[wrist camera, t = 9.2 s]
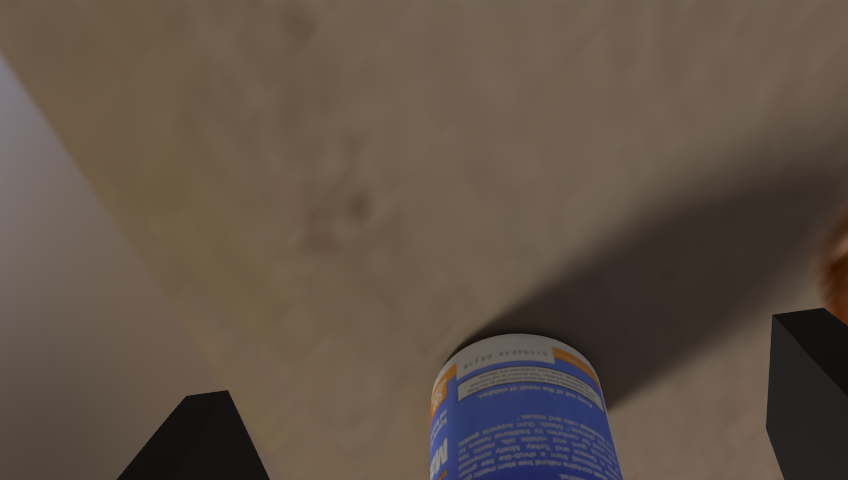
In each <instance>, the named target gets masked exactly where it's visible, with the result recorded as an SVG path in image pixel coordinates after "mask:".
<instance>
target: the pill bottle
mask: <svg viewBox="0 0 848 480" xmlns="http://www.w3.org/2000/svg"><path fill="white" fill-rule="evenodd" d="M430 435H431V449H430V480H624V476H623V473H622V469H621V465H620V462H619V458H618V454H617V450H616V446H615V442H614V438H613V434H612V430H611V426H610V422H609V417H608V413H607V409H606V405H605V401H604V397H603V393H602V390H601V386H600V382H599V379H598V376H597V374H596V372H595V370H594V369H593V367H592V366H591V364H590V363H589V362H588V360H587V359H586V358H585V357H584V356H583V355H582V354H580V353H579V352H578V351H577V350H575V349H574V348H572V347H570V346H568V345H566V344H564V343H562V342H560V341H558V340H555V339H551V338H548V337H544V336H539V335H531V334H505V335H499V336H494V337H490V338H486V339H483V340H481V341H478V342H476V343H473V344H471V345H469V346H467V347H466V348H464V349H462V350H461V351H459V352H458V353H457V354H455V355H454V356H453V357H452V358H451V359H450V360H449V361H448V362H447V363H446V364H445V366H444V367H443V368H442V370H441V372H440V373H439V375H438V377H437V379H436V381H435V384H434V387H433V392H432V400H431V431H430Z"/></svg>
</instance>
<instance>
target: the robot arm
mask: <svg viewBox="0 0 848 480" xmlns="http://www.w3.org/2000/svg"><path fill="white" fill-rule="evenodd" d="M766 430H767V432H768V435H769V438H770V441H771V444H772V447H773V449H774V452H775V455H776V458H777V461H778V463H779V466H780V469H781V472H782V474H783V477H784V480H848V326H847V325H846V324H844V323H843V322H842V321H840V320H839V319H838V318H836V317H835V316H834V315H832V314H831V313H830V312H828V311H827V310H826V309H825V308H818V309H811V310H804V311H796V312H789V313H782V314H775V315H772V332H771V349H770V367H769V385H768V402H767V420H766ZM117 480H270V479H269V477H268V475H267V473H266V470H265V468H264V466H263V464H262V462H261V460H260V458H259V456H258V453H257V451H256V449H255V447H254V445H253V443H252V441H251V438H250V436H249V434H248V432H247V430H246V428H245V426H244V424H243V421H242V419H241V417H240V415H239V413H238V411H237V409H236V407H235V404H234V402H233V400H232V398H231V396H230V394H229V392H228V390H226V391H219V392H212V393H204V394H197V395H190V396H186V397H185V398H184V399H183V400H182V401H181V403H180V404H179V405H178V406H177V407H176V408H175V410H174V411H173V412H172V413H171V414H170V415H169V417H168V418H167V419H166V420H165V421H164V423H163V424H162V425H161V426H160V427H159V429H158V430H157V431H156V432H155V434H154V435H153V436H152V437H151V438H150V440H149V441H148V442H147V443H146V445H145V446H144V447H143V448H142V450H141V451H140V452H139V453H138V454H137V456H136V457H135V458H134V459H133V461H132V462H131V463H130V464H129V465H128V467H127V468H126V469H125V470H124V471H123V473H122V474H121V475H120V476H119V477H118V479H117Z"/></svg>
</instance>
